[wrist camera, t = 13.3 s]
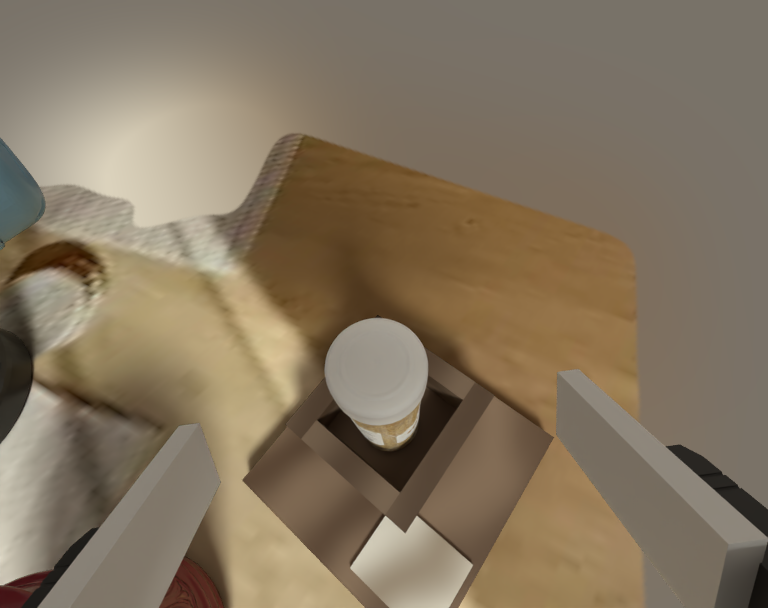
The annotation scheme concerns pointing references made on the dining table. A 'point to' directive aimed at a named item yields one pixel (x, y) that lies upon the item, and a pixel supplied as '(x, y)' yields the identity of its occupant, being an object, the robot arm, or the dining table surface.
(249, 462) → the dining table surface
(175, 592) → the canister
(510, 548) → the dining table surface
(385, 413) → the sprinkles bottle
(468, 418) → the spice caddy
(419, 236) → the dining table surface
